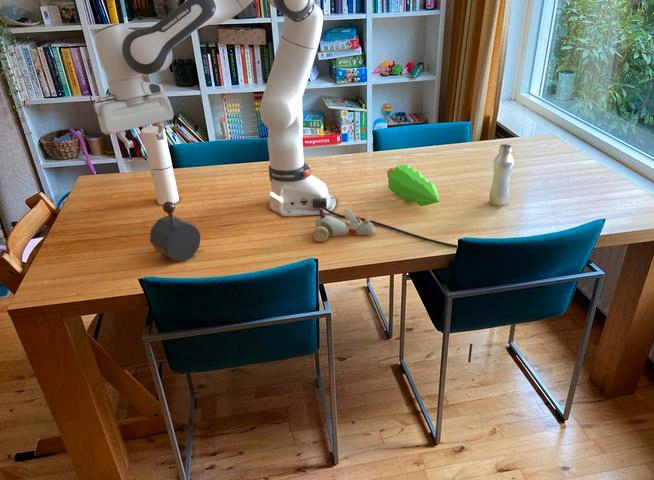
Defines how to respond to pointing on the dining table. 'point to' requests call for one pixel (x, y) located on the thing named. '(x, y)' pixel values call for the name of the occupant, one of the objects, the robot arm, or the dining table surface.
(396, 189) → the decorative tree
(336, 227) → the toy dog
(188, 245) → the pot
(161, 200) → the cylindrical container
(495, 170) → the plastic bottle
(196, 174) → the dining table surface
